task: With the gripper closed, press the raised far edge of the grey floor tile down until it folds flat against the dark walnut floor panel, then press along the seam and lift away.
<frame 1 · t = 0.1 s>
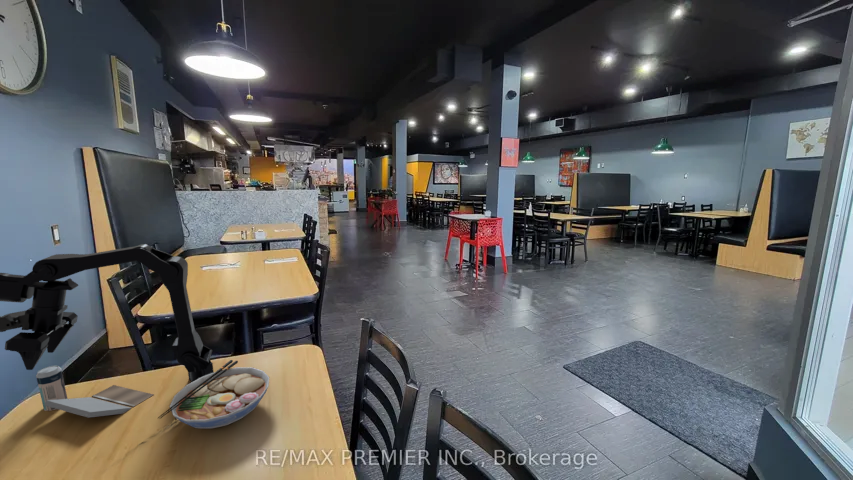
hand: (40, 360, 91), 15 cm above the table, tool pointing down, fingers open, 9 cm apart
beer can: (57, 409, 96), on the table
walnut panel: (123, 399, 100), on the table
ramen bowl: (225, 415, 94), on the table
grey tile: (89, 406, 92), point 3 cm above the table, hinge at 30.0°
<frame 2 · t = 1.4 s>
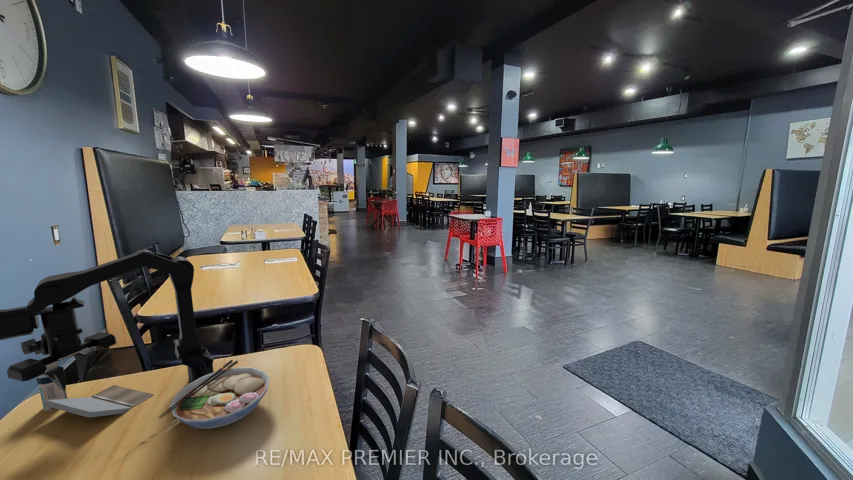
hand: (73, 385, 88), 11 cm above the table, tool pointing down, fingers open, 4 cm apart
nothing on the table moved.
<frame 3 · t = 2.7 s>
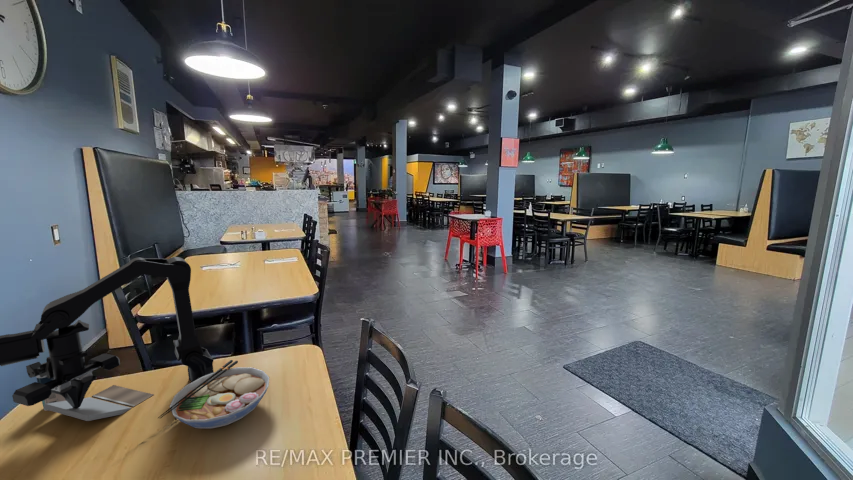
hand: (76, 407, 89), 5 cm above the table, tool pointing down, fingers closed
grey tile: (88, 408, 92), point 3 cm above the table, hinge at 25.4°, touching gripper
everything else where it was.
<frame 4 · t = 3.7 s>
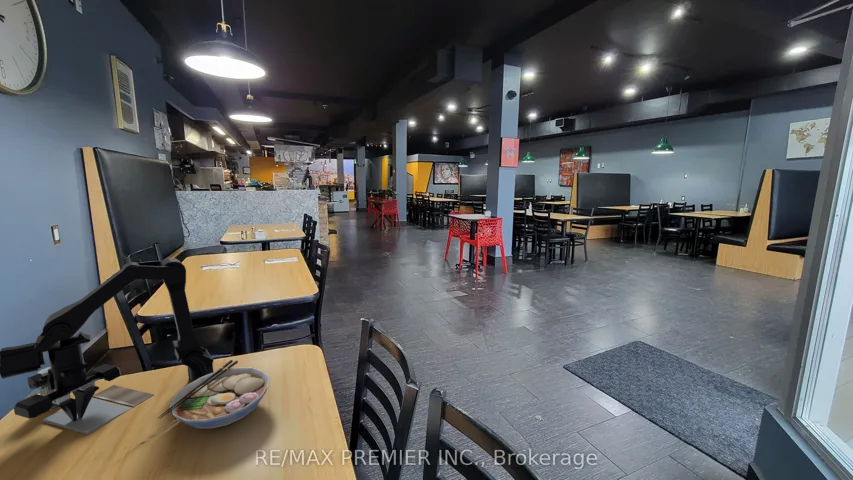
hand: (77, 418, 89), 2 cm above the table, tool pointing down, fingers closed, pressing on grey tile
grey tile: (88, 415, 92), point 1 cm above the table, hinge at 4.0°, touching gripper
everything else where it was.
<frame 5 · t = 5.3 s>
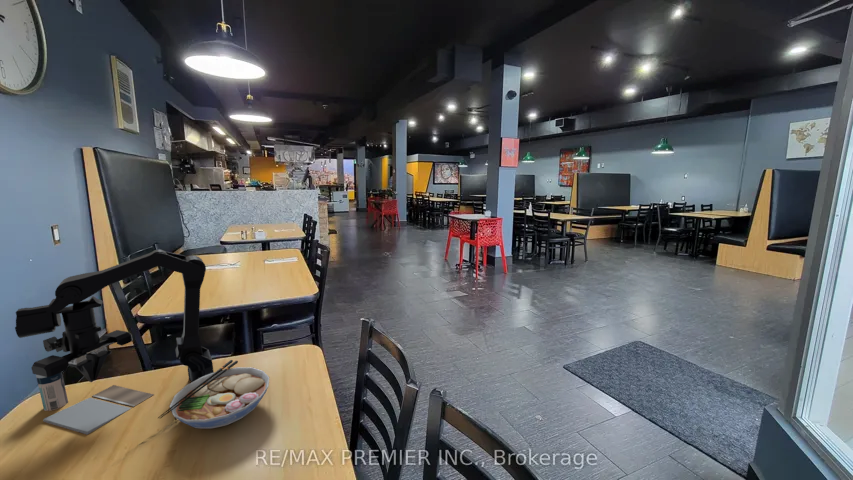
hand: (92, 380, 92), 10 cm above the table, tool pointing down, fingers closed
grey tile: (88, 415, 92), point 1 cm above the table, hinge at 3.8°
everything else where it was.
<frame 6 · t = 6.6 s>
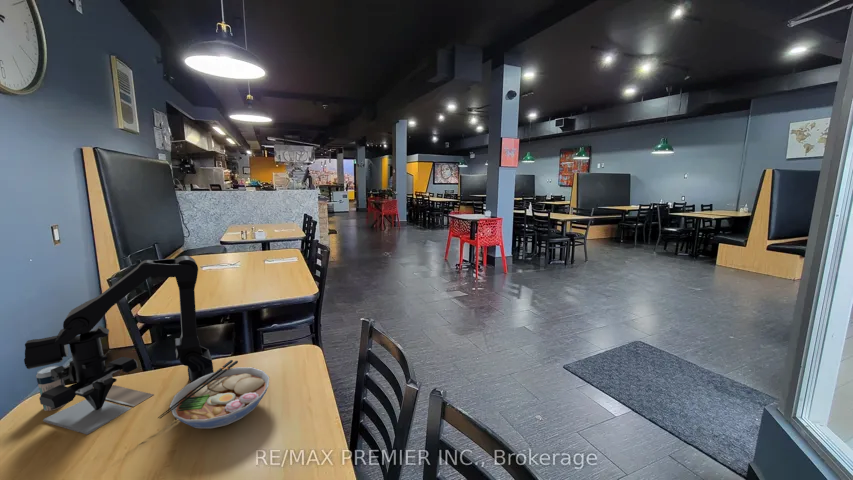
hand: (98, 408, 94), 2 cm above the table, tool pointing down, fingers closed
grey tile: (88, 415, 92), point 1 cm above the table, hinge at 3.8°, touching gripper
everything else where it was.
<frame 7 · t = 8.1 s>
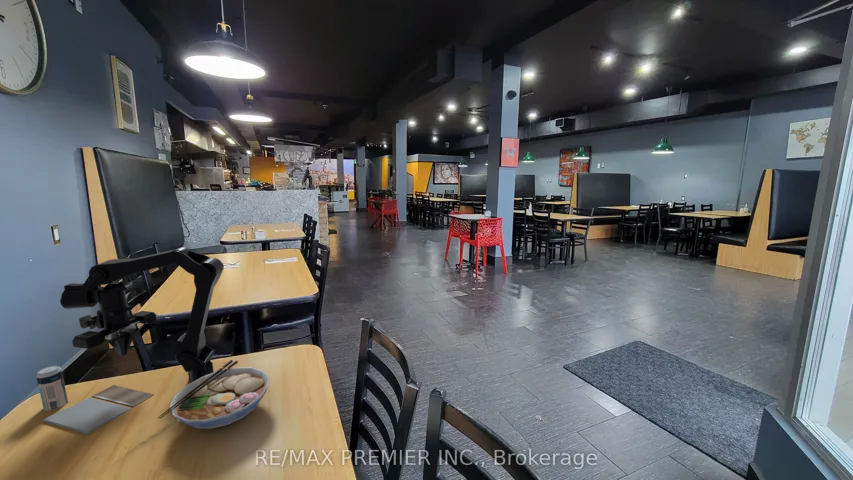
hand: (123, 355, 102), 11 cm above the table, tool pointing down, fingers closed
grey tile: (88, 415, 92), point 1 cm above the table, hinge at 3.8°
everything else where it was.
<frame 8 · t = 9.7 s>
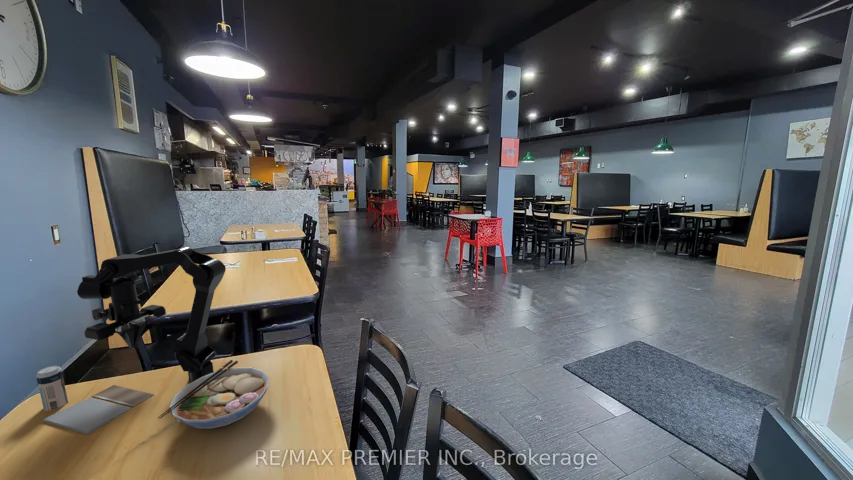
hand: (132, 347, 105), 12 cm above the table, tool pointing down, fingers closed
nothing on the table moved.
at the end: grey tile at +4° (first picture: +30°); beer can moved 0.2 cm from its start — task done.
